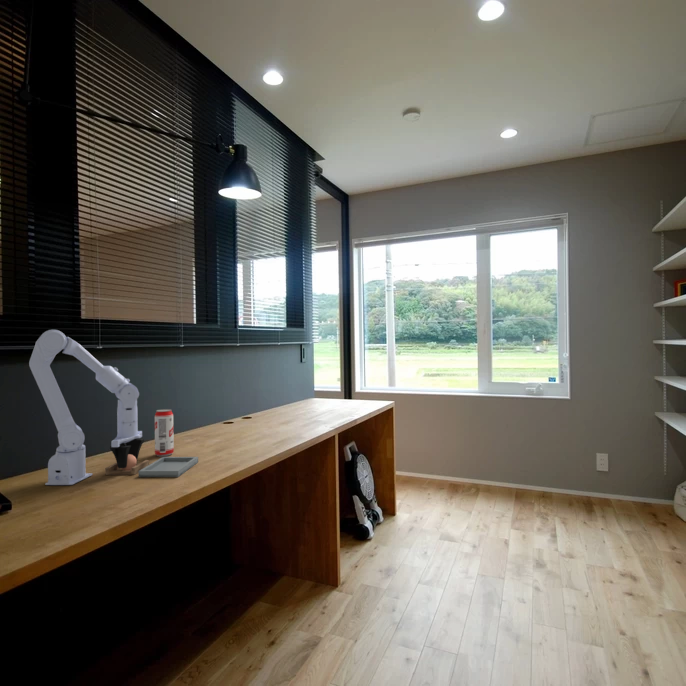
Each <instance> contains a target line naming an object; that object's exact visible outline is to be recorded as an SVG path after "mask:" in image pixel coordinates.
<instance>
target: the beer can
mask: <svg viewBox="0 0 686 686" xmlns="http://www.w3.org/2000/svg"><path fill="white" fill-rule="evenodd" d="M155 411H156V412H155V415H154V454H155V455H156V457H160V458H162V457H170V456H171V455H172V454H173V453H174V452H175V448H174V447H175V442H174V441H175V440H174V439H175V438H174V413H173V412H172V409H171V408H170V409H169V408H165V409H162V408H161V409H157V410H155Z"/></svg>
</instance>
